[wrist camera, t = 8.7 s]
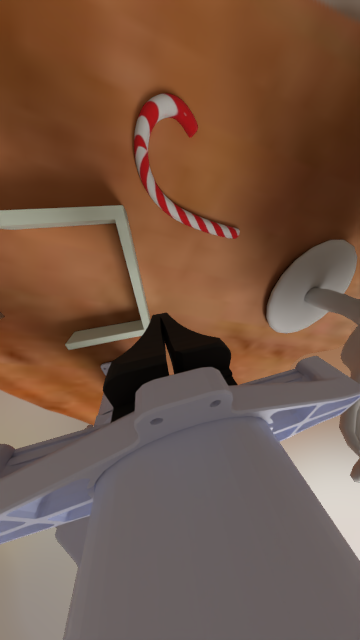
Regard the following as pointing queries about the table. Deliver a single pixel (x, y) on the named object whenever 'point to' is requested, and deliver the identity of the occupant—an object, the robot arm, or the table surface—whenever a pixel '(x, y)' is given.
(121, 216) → the sage corner frame
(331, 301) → the candelabra
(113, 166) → the table surface
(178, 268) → the table surface
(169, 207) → the candy cane
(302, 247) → the table surface
